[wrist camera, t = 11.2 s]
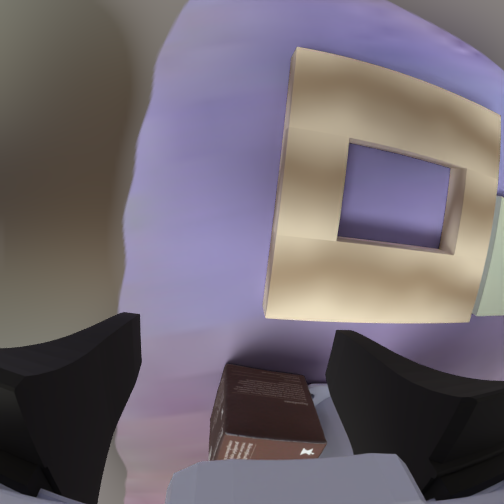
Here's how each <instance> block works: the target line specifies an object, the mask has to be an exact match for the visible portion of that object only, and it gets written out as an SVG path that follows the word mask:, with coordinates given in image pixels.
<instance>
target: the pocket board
mask: <svg viewBox="0 0 504 504" xmlns="http://www.w3.org/2000/svg"><path fill="white" fill-rule="evenodd" d="M500 140H501V115H499V114H497V113H495V112H493V111H491V110H489V109H487V108H485V107H483V106H481V105H479V104H477V103H475V102H472V101H470V100H468V99H466V98H464V97H462V96H459V95H457V94H455V93H452V92H450V91H448V90H445V89H443V88H440V87H438V86H435V85H433V84H430V83H428V82H425V81H422V80H420V79H417V78H414V77H411V76H408V75H405V74H403V73H400V72H396V71H393V70H390V69H387V68H384V67H381V66H377V65H374V64H370V63H367V62H363V61H359V60H356V59H352V58H348V57H344V56H340V55H335V54H331V53H326V52H322V51H317V50H312V49H307V48H301V47H297V48H296V50H295V52H294V54H293V55H292V57H291V64H290V74H289V84H288V94H287V103H286V113H285V122H284V131H283V140H282V149H281V158H280V167H279V176H278V184H277V193H276V201H275V210H274V218H273V226H272V235H271V243H270V251H269V259H268V267H267V275H266V282H265V290H264V298H263V310H264V314H265V318H271V319H287V320H305V321H326V322H355V323H463V322H469V321H470V318H471V314H472V311H473V308H474V304H475V301H476V297H477V294H478V290H479V286H480V282H481V278H482V274H483V270H484V265H485V261H486V256H487V252H488V247H489V241H490V236H491V230H492V224H493V218H494V211H495V204H496V195H497V186H498V175H499V162H500ZM349 143H352V144H357V145H362V146H366V147H371V148H375V149H380V150H384V151H388V152H393V153H397V154H401V155H405V156H409V157H413V158H416V159H420V160H424V161H427V162H431V163H435V164H438V165H441V166H445V167H448V168H450V177H449V186H448V194H447V202H446V209H445V216H444V222H443V228H442V234H441V239H440V245H439V249H436V248H428V247H421V246H413V245H405V244H397V243H389V242H381V241H373V240H365V239H357V238H348V237H340V236H337V234H338V227H339V221H340V214H341V206H342V199H343V191H344V183H345V175H346V166H347V157H348V147H349Z"/></svg>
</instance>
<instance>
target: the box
mask: <svg viewBox="0 0 504 504" xmlns="http://www.w3.org/2000/svg"><path fill="white" fill-rule="evenodd" d="M326 445H327V441H326V439H325V436H324V432H323V429H322V426H321V424H320V420H319V417H318V415H317V411H316V408H315V406H314V402H313V400H312V397H311V394H310V391H309V389H308V386H307V382H306V380H305V377H304V376H303V375H295V374H289V373H281V372H273V371H267V370H261V369H254V368H249V367H243V366H238V365H232V364H226V365H225V368H224V371H223V374H222V378H221V382H220V385H219V388H218V391H217V396H216V399H215V403H214V407H213V412H212V415H211V418H210V437H209V461H215V460H227V459H246V460H293V459H314V458H319V456H320V455H321V453H322V452H323V450H324V448H325V447H326Z"/></svg>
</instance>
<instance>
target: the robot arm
mask: <svg viewBox="0 0 504 504" xmlns="http://www.w3.org/2000/svg"><path fill="white" fill-rule="evenodd" d="M141 363H142V358H141V336H140V314H134V313H127V312H123V313H120V314H117V315H115V316H113V317H110V318H108V319H106V320H104V321H102V322H100V323H98V324H95V325H93V326H91V327H89V328H87V329H84V330H81V331H79V332H77V333H74V334H72V335H69V336H66V337H63V338H60V339H57V340H53V341H50V342H45V343H41V344H36V345H29V346H24V347H15V348H0V504H97V503H98V496H99V490H100V485H101V480H102V475H103V471H104V467H105V462H106V458H107V454H108V450H109V447H110V443H111V440H112V436H113V433H114V431H115V428H116V425H117V423H118V421H119V419H120V416H121V414H122V412H123V410H124V408H125V405H126V403H127V401H128V399H129V397H130V394H131V392H132V390H133V388H134V386H135V383H136V380H137V377H138V374H139V370H140V366H141ZM325 376H326V381H327V384H309V385H308V389H309V391H310V394H313V395H312V396H311V397H312V400H313V402H314V406H315V408H316V411H317V415H318V417H319V420H320V424H321V426H322V429H323V432H324V436H325V439H326V441H327V445H326V447H325V448H324V450H323V452H322V453H321V455H320V456H319V458H314V459H293V460H246V459H227V460H215V461H201V462H198V463H196V464H194V465H191V466H189V467H187V468H185V469H183V470H180V471H178V472H176V473H174V474H173V477H172V479H171V481H170V483H169V486H168V488H167V493H166V500H165V504H504V381H489V380H479V379H472V378H466V377H461V376H456V375H452V374H448V373H444V372H441V371H437V370H434V369H431V368H429V367H426V366H423V365H421V364H418V363H416V362H413V361H411V360H409V359H407V358H405V357H403V356H400V355H398V354H396V353H395V352H393V351H391V350H389V349H387V348H385V347H383V346H381V345H380V344H378V343H376V342H374V341H372V340H371V339H369V338H367V337H365V336H363V335H361V334H359V333H357V332H354V331H352V330H336V334H335V338H334V342H333V346H332V351H331V355H330V359H329V363H328V367H327V370H326V374H325Z"/></svg>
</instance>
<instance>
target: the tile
mask: <svg viewBox="0 0 504 504" xmlns="http://www.w3.org/2000/svg"><path fill="white" fill-rule="evenodd" d="M472 314H474V315H475V316H501V315H504V197H502V196H496V204H495V211H494V218H493V224H492V230H491V236H490V241H489V247H488V252H487V256H486V261H485V265H484V270H483V274H482V278H481V282H480V286H479V290H478V294H477V297H476V301H475V304H474V308H473V311H472Z"/></svg>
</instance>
